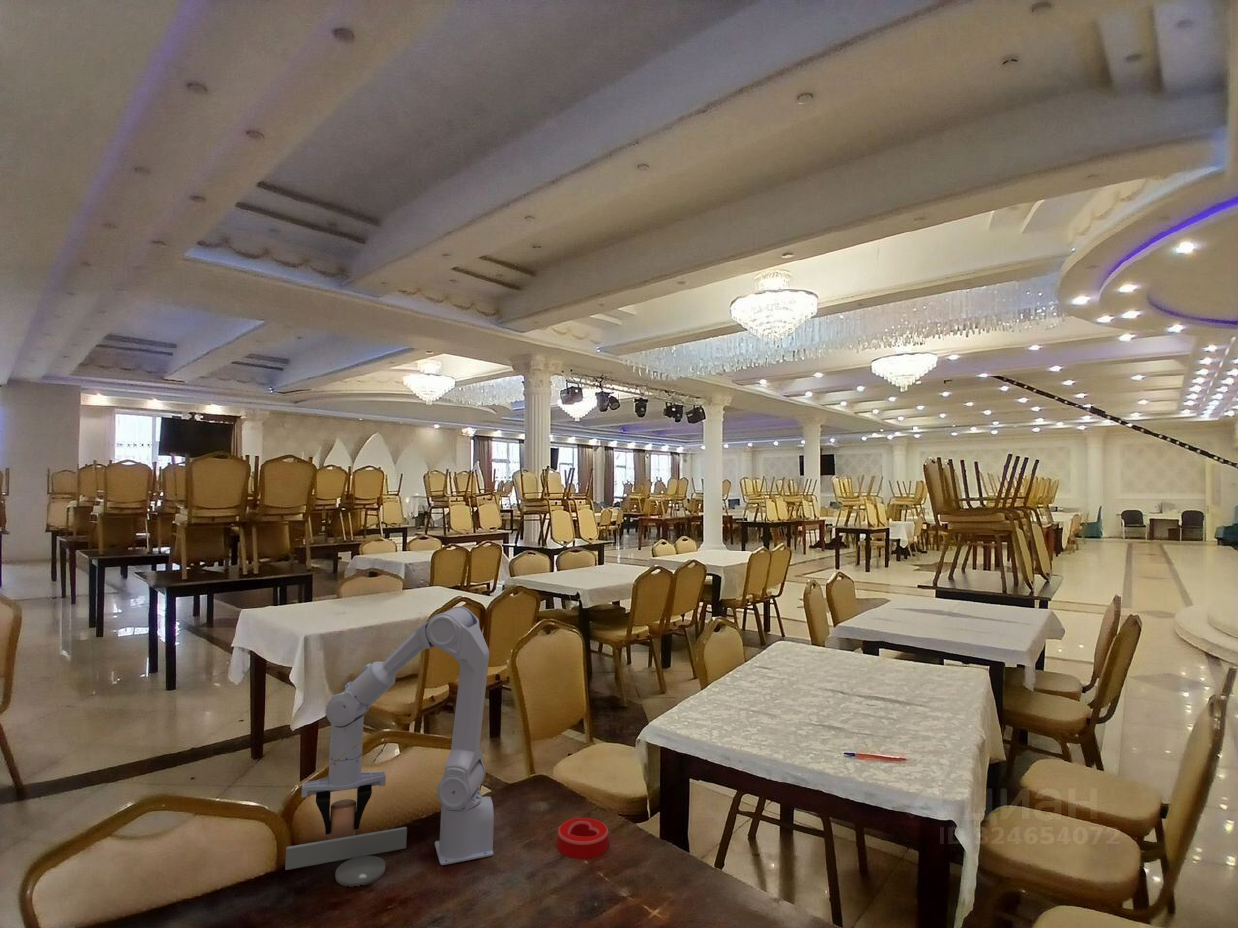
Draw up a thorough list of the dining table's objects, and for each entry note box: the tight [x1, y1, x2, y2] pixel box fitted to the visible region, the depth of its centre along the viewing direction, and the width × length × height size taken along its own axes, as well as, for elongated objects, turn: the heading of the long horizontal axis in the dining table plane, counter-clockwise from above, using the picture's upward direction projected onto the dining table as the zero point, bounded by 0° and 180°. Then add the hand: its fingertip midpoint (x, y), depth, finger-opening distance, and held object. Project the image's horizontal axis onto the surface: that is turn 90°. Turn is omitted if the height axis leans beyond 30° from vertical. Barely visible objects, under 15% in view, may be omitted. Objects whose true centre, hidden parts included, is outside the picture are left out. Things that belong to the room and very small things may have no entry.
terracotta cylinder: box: [328, 798, 357, 840], centre depth 121 cm, size 4×4×6 cm
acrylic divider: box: [284, 826, 408, 871], centre depth 115 cm, size 20×1×4 cm, turn 114°
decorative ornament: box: [556, 817, 609, 860], centre depth 122 cm, size 10×10×3 cm
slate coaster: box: [334, 855, 386, 888], centre depth 111 cm, size 8×8×1 cm
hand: (342, 829), depth 120 cm, fingers closed on terracotta cylinder, 4 cm apart
